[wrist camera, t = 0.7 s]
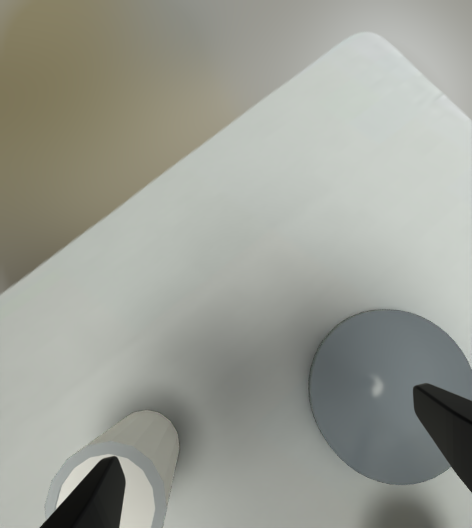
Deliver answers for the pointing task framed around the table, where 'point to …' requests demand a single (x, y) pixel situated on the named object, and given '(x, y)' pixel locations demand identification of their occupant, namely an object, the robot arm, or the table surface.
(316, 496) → the table surface
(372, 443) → the slate dish
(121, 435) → the white cup
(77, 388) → the table surface
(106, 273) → the table surface
